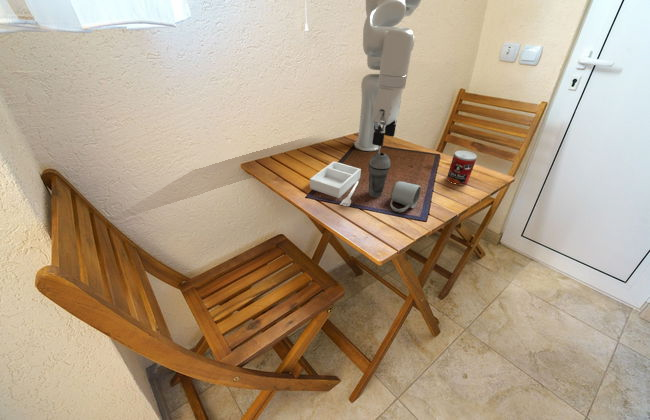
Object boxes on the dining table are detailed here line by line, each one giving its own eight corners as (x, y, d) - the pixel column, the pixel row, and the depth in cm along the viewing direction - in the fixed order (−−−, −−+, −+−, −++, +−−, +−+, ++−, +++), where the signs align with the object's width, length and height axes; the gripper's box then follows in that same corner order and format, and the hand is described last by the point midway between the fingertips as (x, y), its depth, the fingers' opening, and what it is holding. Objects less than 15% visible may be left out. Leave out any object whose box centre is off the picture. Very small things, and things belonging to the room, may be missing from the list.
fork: (362, 183, 109) (362, 179, 108) (347, 211, 93) (347, 206, 92) (353, 182, 110) (354, 177, 109) (337, 208, 94) (338, 204, 93)
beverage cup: (385, 201, 98) (394, 146, 86) (363, 198, 99) (370, 143, 88) (385, 190, 104) (394, 137, 92) (365, 187, 105) (372, 135, 93)
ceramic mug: (396, 194, 102) (399, 175, 97) (418, 201, 98) (423, 182, 94) (383, 208, 95) (387, 188, 90) (407, 217, 91) (412, 197, 87)
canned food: (443, 180, 111) (451, 154, 104) (451, 173, 116) (459, 148, 109) (462, 188, 107) (472, 161, 100) (470, 180, 112) (480, 154, 105)
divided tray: (333, 170, 116) (333, 161, 113) (359, 178, 111) (361, 169, 108) (309, 188, 104) (309, 178, 101) (338, 198, 99) (339, 188, 96)
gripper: (390, 75, 87) (382, 130, 97) (367, 84, 75) (360, 146, 85) (414, 78, 84) (403, 134, 94) (394, 88, 72) (384, 152, 82)
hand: (383, 140), depth 89 cm, fingers open, 9 cm apart
